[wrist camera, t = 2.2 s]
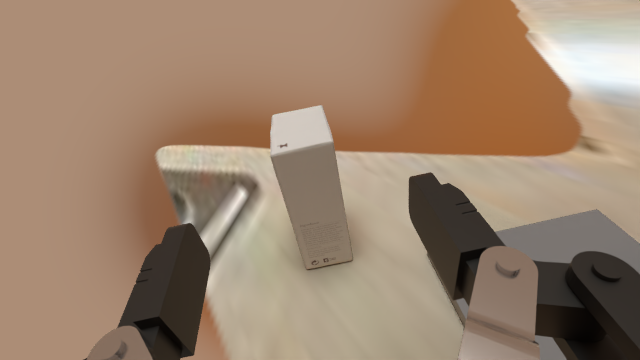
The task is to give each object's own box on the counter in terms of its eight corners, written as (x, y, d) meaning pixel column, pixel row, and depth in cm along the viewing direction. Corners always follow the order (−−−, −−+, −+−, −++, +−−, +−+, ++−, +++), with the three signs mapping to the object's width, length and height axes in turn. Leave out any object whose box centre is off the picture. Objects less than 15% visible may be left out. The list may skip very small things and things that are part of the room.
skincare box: (355, 261, 27) (334, 142, 20) (305, 271, 27) (267, 156, 20) (343, 212, 32) (323, 102, 24) (301, 221, 32) (269, 114, 24)
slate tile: (592, 217, 26) (597, 209, 25) (834, 421, 15) (852, 414, 14) (427, 254, 26) (427, 246, 25) (545, 485, 15) (551, 481, 14)
